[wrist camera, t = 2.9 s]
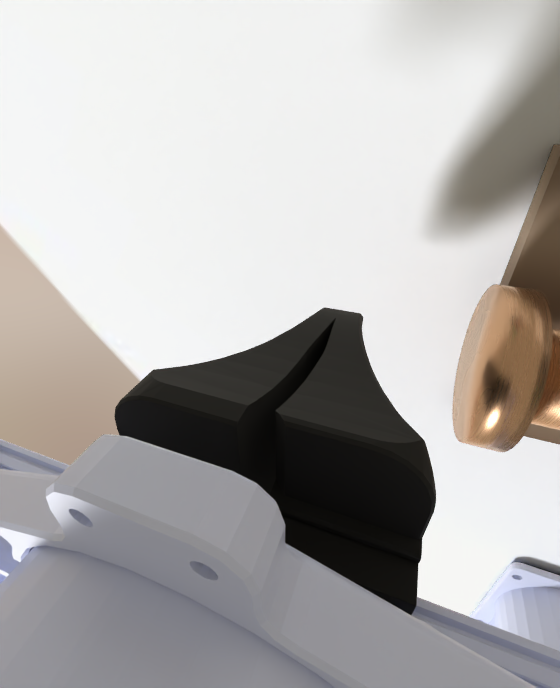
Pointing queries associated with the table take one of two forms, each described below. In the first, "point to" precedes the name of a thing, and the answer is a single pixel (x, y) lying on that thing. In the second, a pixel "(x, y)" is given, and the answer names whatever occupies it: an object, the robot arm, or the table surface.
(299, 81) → the table surface
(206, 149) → the table surface
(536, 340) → the tan flared rod
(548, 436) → the base board
